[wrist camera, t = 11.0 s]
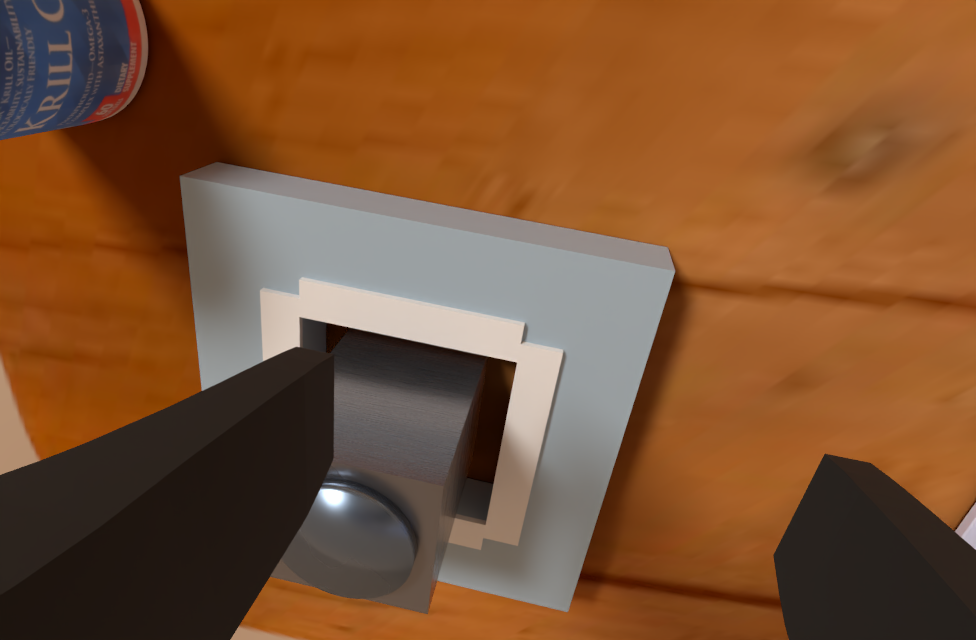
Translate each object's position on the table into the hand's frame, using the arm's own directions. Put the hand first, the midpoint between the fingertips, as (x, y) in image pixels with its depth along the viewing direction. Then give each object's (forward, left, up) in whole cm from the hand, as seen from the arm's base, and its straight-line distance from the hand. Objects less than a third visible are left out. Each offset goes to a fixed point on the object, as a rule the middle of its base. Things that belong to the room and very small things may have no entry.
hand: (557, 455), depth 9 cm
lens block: (+4, +6, -9) cm, 12 cm away
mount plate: (+4, +6, -9) cm, 12 cm away
